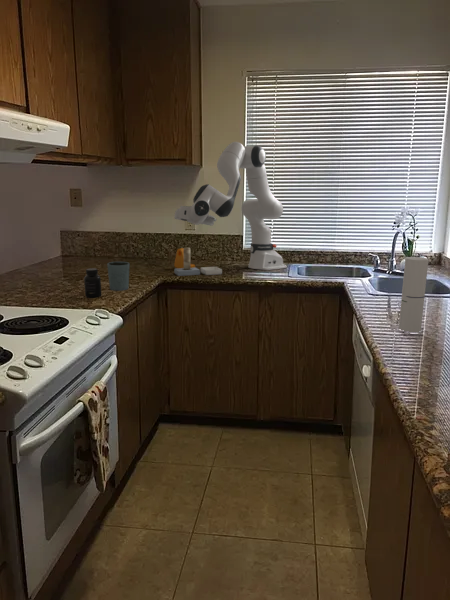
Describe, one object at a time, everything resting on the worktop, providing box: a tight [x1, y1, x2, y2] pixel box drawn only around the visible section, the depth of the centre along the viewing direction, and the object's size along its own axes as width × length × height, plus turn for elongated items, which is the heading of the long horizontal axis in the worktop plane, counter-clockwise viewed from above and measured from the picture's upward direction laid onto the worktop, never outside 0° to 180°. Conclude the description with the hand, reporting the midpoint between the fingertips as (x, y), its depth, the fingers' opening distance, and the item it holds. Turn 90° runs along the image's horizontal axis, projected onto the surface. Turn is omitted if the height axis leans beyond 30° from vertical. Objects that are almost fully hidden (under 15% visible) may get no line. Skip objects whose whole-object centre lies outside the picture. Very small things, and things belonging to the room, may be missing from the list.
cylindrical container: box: [398, 256, 429, 332], centre depth 165 cm, size 7×7×25 cm
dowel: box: [183, 247, 191, 270], centre depth 265 cm, size 4×4×14 cm
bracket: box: [173, 247, 196, 269], centre depth 280 cm, size 11×7×12 cm, turn 40°
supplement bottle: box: [83, 267, 103, 299], centre depth 212 cm, size 7×7×12 cm
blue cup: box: [106, 261, 130, 292], centre depth 228 cm, size 10×10×12 cm
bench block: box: [173, 266, 201, 277], centre depth 266 cm, size 12×8×2 cm, turn 110°
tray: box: [200, 266, 223, 276], centre depth 269 cm, size 9×9×3 cm
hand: (192, 221), depth 255 cm, fingers open, 8 cm apart
